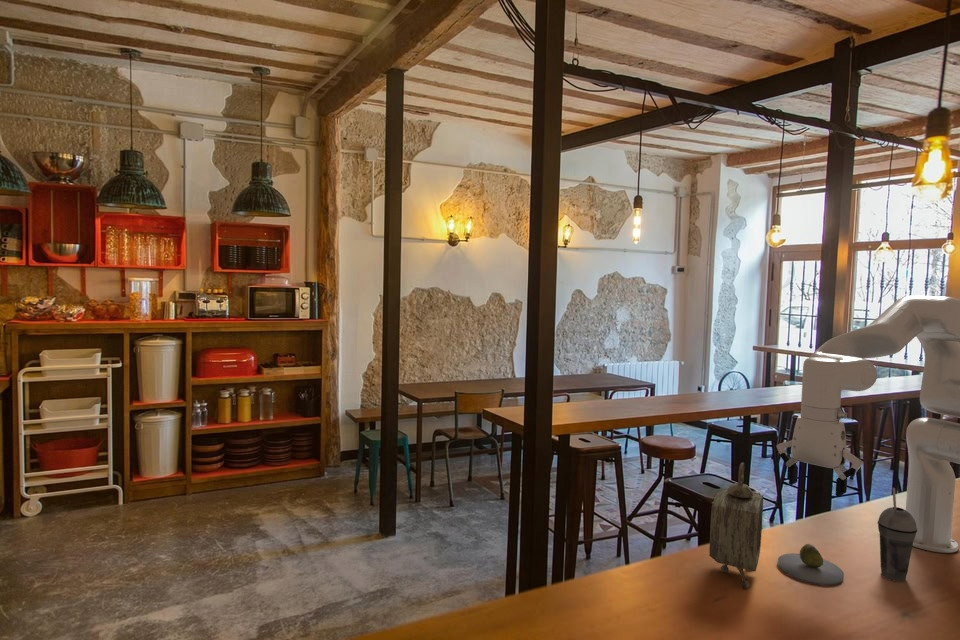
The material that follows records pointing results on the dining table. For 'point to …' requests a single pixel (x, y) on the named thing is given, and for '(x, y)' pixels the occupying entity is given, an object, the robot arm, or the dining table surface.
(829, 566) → the slate plate
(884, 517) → the beverage cup
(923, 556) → the dining table surface
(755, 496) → the tabletop clock
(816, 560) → the lime
